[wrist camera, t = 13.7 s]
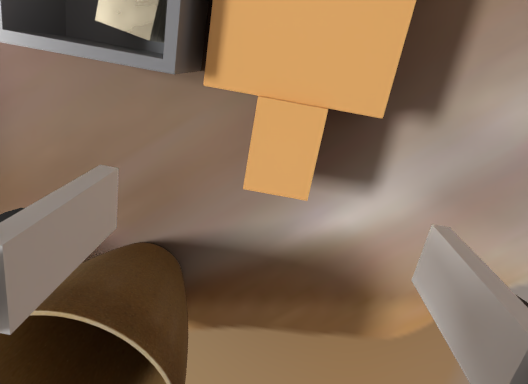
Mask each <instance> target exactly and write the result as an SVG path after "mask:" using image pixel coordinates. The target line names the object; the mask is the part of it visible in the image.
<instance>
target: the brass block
mask: <svg viewBox="0 0 528 384" xmlns="http://www.w3.org/2000/svg"><path fill="white" fill-rule="evenodd" d="M166 13H167V0H99V1H98V6H97V12H96V17H95V20H96V21H99V22H101V23H104V24H107V25H109V26H112V27H114V28H117V29H120V30H122V31H125V32H128V33H130V34H133V35H135V36H138V37H141V38H143V39H146V40H149V41H155V42H162V43H164V40H165V26H166Z"/></svg>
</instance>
